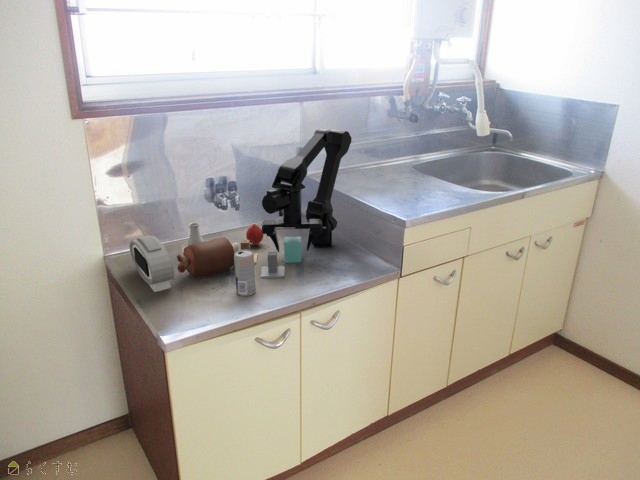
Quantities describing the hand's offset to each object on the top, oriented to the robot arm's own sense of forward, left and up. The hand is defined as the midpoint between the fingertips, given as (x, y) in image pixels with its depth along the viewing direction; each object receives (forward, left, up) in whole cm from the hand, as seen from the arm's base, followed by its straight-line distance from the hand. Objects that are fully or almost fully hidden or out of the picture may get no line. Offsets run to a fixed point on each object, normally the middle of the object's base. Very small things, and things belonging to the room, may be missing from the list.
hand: (293, 251), depth 167 cm
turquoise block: (0, 0, -3) cm, 3 cm away
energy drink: (+13, +22, -3) cm, 26 cm away
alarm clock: (+41, +13, -3) cm, 43 cm away
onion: (+13, -12, -3) cm, 18 cm away
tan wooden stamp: (+15, 0, -3) cm, 15 cm away
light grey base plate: (+6, +10, -3) cm, 12 cm away
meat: (+25, +9, -3) cm, 27 cm away
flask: (+32, -7, -3) cm, 33 cm away
